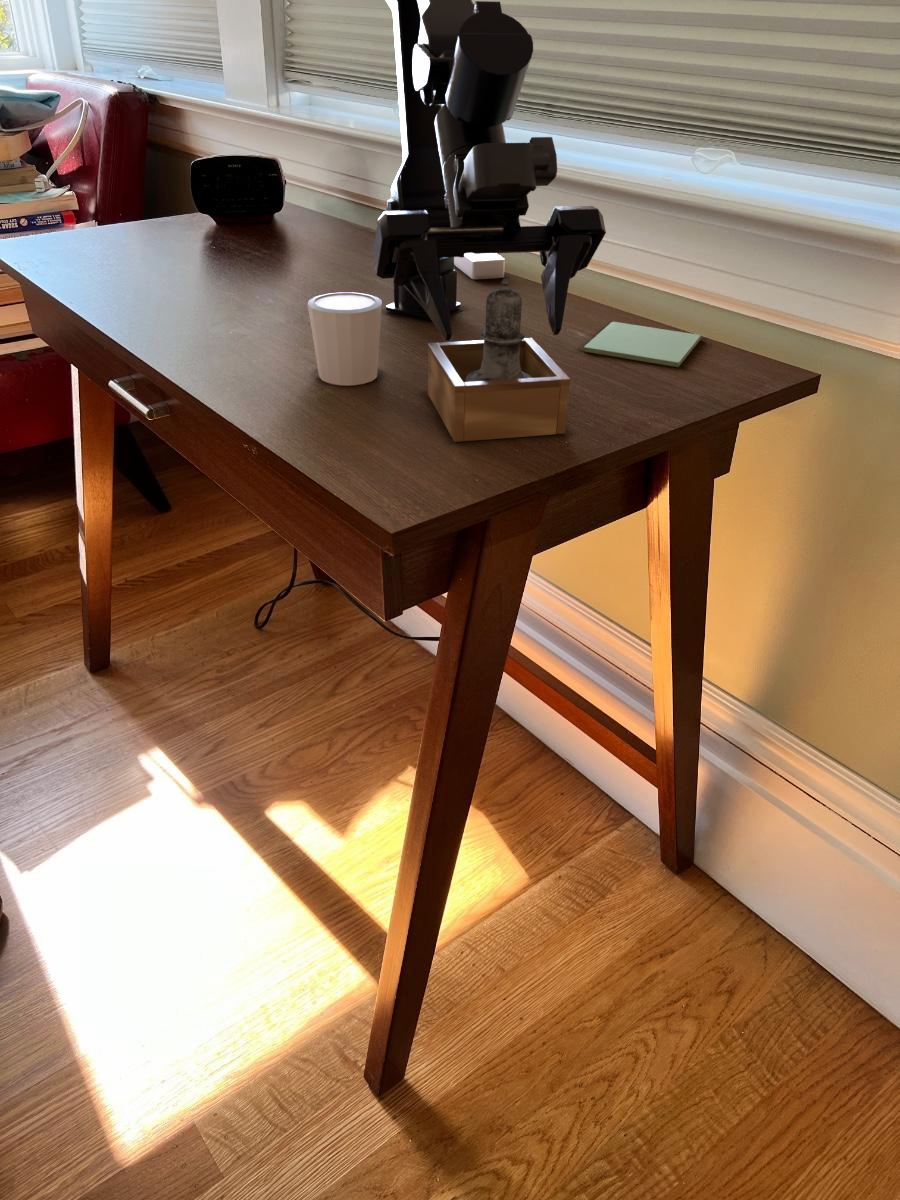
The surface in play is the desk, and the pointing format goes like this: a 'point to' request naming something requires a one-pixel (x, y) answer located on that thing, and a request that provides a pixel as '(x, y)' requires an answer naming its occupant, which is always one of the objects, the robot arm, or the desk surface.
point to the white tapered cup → (346, 336)
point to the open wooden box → (496, 393)
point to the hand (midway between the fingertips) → (503, 335)
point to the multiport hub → (481, 265)
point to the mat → (643, 344)
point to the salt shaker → (501, 337)
